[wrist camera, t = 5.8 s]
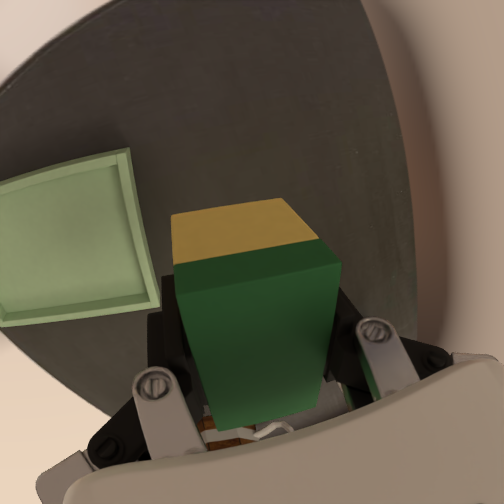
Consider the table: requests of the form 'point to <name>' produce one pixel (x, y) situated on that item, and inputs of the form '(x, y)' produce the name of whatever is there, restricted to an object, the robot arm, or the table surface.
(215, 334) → the sponge
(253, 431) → the mug
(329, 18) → the table surface
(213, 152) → the table surface
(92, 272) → the tray
